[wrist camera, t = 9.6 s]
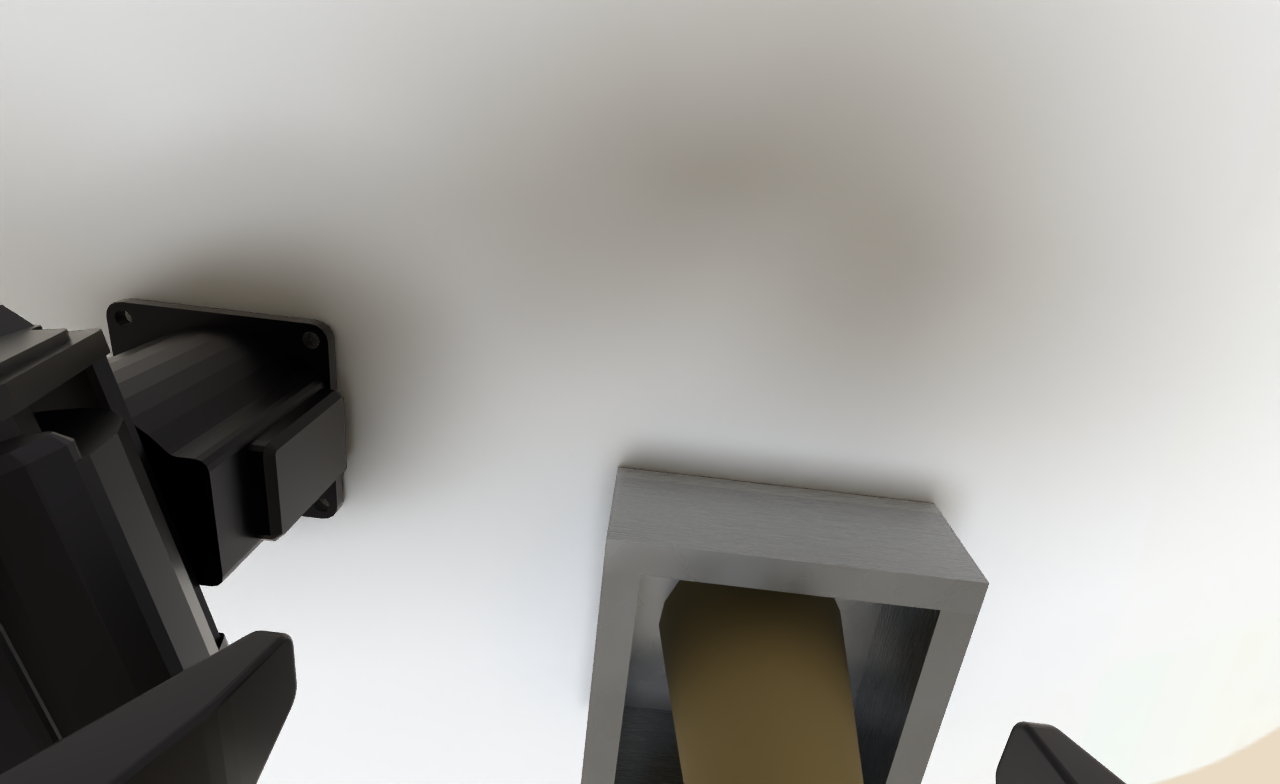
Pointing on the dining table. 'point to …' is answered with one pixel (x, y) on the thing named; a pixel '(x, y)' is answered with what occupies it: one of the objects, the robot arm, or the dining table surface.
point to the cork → (758, 686)
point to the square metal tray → (787, 562)
